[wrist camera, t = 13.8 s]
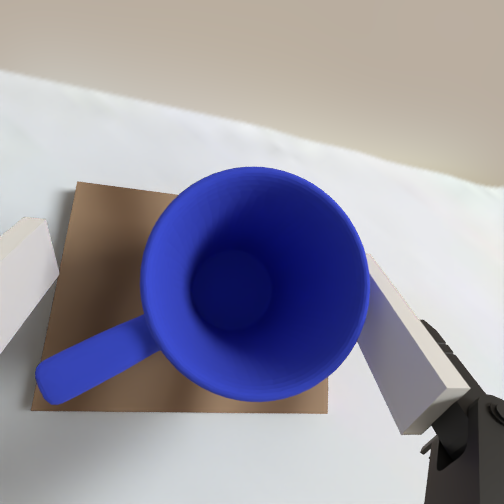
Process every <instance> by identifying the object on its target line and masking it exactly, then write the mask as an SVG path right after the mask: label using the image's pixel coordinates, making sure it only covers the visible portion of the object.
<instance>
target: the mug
mask: <svg viewBox="0 0 504 504" xmlns="http://www.w3.org/2000/svg"><path fill="white" fill-rule="evenodd" d="M140 294H141V302H142V307H143V311H144V314H143V315H141V316H139V317H136V318H134V319H131V320H129V321H127V322H124V323H122V324H119V325H117V326H115V327H113V328H110V329H108V330H106V331H103V332H101V333H99V334H97V335H95V336H93V337H90V338H88V339H86V340H84V341H82V342H80V343H78V344H76V345H74V346H72V347H69V348H67V349H65V350H63V351H61V352H59V353H57V354H55V355H53V356H51V357H49V358H47V359H45V360H43V361H42V362H41V363H40V364H39V365H38V366H37V368H36V371H35V378H36V382H37V385H38V388H39V390H40V392H41V394H42V396H43V398H44V399H45V400H46V401H47V402H48V403H50V404H51V405H59V404H62V403H64V402H66V401H68V400H70V399H72V398H74V397H76V396H78V395H80V394H82V393H84V392H86V391H88V390H89V389H91V388H93V387H95V386H97V385H99V384H101V383H103V382H104V381H106V380H108V379H110V378H112V377H114V376H116V375H118V374H119V373H121V372H123V371H125V370H126V369H128V368H130V367H132V366H133V365H135V364H137V363H138V362H140V361H142V360H144V359H145V358H147V357H149V356H150V355H152V354H154V353H156V352H158V351H160V350H161V351H162V353H163V354H164V355H165V357H166V358H167V359H168V360H169V361H170V362H171V364H172V365H173V366H174V367H175V368H176V369H177V370H178V371H179V372H180V373H181V374H183V375H184V376H185V377H186V378H188V379H189V380H190V381H192V382H193V383H195V384H197V385H198V386H200V387H201V388H203V389H205V390H207V391H209V392H212V393H214V394H217V395H220V396H222V397H225V398H229V399H234V400H239V401H246V402H267V401H275V400H280V399H285V398H288V397H292V396H295V395H298V394H300V393H302V392H304V391H307V390H309V389H311V388H312V387H314V386H316V385H317V384H319V383H320V382H322V381H323V380H324V379H326V378H327V377H328V376H329V375H331V374H332V373H333V372H334V371H335V370H336V369H337V368H338V367H339V366H340V365H341V364H342V362H343V361H344V360H345V359H346V357H347V356H348V355H349V353H350V352H351V350H352V349H353V347H354V345H355V344H356V342H357V340H358V338H359V336H360V334H361V331H362V328H363V326H364V323H365V319H366V315H367V311H368V306H369V298H370V275H369V268H368V262H367V258H366V254H365V251H364V248H363V245H362V242H361V240H360V237H359V235H358V233H357V231H356V229H355V227H354V226H353V224H352V222H351V221H350V219H349V218H348V216H347V215H346V214H345V212H344V211H343V210H342V209H341V207H340V206H339V205H338V204H337V203H336V202H335V201H334V200H333V199H332V198H331V197H330V196H329V195H327V194H326V193H325V192H324V191H323V190H321V189H320V188H318V187H317V186H315V185H314V184H312V183H310V182H309V181H307V180H305V179H303V178H301V177H299V176H296V175H294V174H291V173H288V172H285V171H281V170H277V169H273V168H266V167H240V168H233V169H228V170H224V171H221V172H218V173H214V174H212V175H210V176H207V177H205V178H203V179H201V180H199V181H197V182H196V183H194V184H192V185H191V186H190V187H188V188H187V189H185V190H184V191H183V192H181V193H180V194H179V195H178V196H177V197H176V198H175V199H174V200H173V201H172V202H171V203H170V204H169V205H168V206H167V208H166V209H165V210H164V212H163V213H162V214H161V216H160V217H159V219H158V220H157V222H156V223H155V225H154V227H153V229H152V231H151V233H150V235H149V238H148V240H147V243H146V247H145V250H144V253H143V258H142V263H141V271H140Z"/></svg>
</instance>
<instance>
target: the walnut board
mask: <svg viewBox="0 0 504 504" xmlns="http://www.w3.org/2000/svg"><path fill="white" fill-rule="evenodd" d="M177 196H178V195H175V194H167V193H160V192H152V191H145V190H137V189H130V188H122V187H115V186H107V185H100V184H92V183H85V182H78V181H77V186H76V191H75V196H74V201H73V206H72V211H71V216H70V220H69V225H68V230H67V235H66V240H65V245H64V250H63V255H62V260H61V265H60V270H59V273H60V274H59V276H58V279H57V284H56V289H55V294H54V299H53V304H52V309H51V314H50V319H49V324H48V329H47V333H46V338H45V343H44V348H43V353H42V358H41V362H42V361H43V360H45V359H47V358H49V357H51V356H53V355H55V354H57V353H59V352H61V351H63V350H65V349H67V348H69V347H72V346H74V345H76V344H78V343H80V342H82V341H84V340H86V339H88V338H90V337H93V336H95V335H97V334H99V333H101V332H103V331H106V330H108V329H110V328H113V327H115V326H117V325H119V324H122V323H124V322H127V321H129V320H131V319H134V318H136V317H139V316H141V315H143V314H144V311H143V307H142V302H141V294H140V271H141V263H142V258H143V253H144V250H145V247H146V243H147V240H148V238H149V235H150V233H151V231H152V229H153V227H154V225H155V223H156V222H157V220H158V219H159V217H160V216H161V214H162V213H163V212H164V210H165V209H166V208H167V206H168V205H169V204H170V203H171V202H172V201H173V200H174V199H175V198H176V197H177ZM31 411H104V412H206V413H308V414H328V377H327V378H326V379H324V380H323V381H322V382H320V383H319V384H317V385H316V386H314V387H312V388H311V389H309V390H307V391H304V392H302V393H300V394H298V395H295V396H292V397H288V398H285V399H280V400H275V401H267V402H246V401H239V400H234V399H229V398H225V397H222V396H220V395H217V394H214V393H212V392H209V391H207V390H205V389H203V388H201V387H200V386H198V385H197V384H195V383H193V382H192V381H190V380H189V379H188V378H186V377H185V376H184V375H183V374H181V373H180V372H179V371H178V370H177V369H176V368H175V367H174V366H173V365H172V364H171V362H170V361H169V360H168V359H167V358H166V357H165V355H164V354H163V353H162V351H161V350H160V351H158V352H156V353H154V354H152V355H150V356H149V357H147V358H145V359H144V360H142V361H140V362H138V363H137V364H135V365H133V366H132V367H130V368H128V369H126V370H125V371H123V372H121V373H119V374H118V375H116V376H114V377H112V378H110V379H108V380H106V381H104V382H103V383H101V384H99V385H97V386H95V387H93V388H91V389H89V390H88V391H86V392H84V393H82V394H80V395H78V396H76V397H74V398H72V399H70V400H68V401H66V402H64V403H62V404H59V405H51V404H50V403H48V402H47V401H46V400H45V399H44V398H43V396H42V394H41V392H40V390H39V388H38V385H37V383H36V388H35V392H34V397H33V402H32V407H31Z"/></svg>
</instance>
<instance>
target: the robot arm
mask: <svg viewBox="0 0 504 504" xmlns="http://www.w3.org/2000/svg"><path fill="white" fill-rule="evenodd" d="M365 254H366V253H365ZM366 258H367V262H368V268H369V275H370V298H369V306H368V311H367V315H366V319H365V323H364V326H363V328H362V331H361V334H360V336H359V338H358V340H357V342H358V344H359V346H360V349H361V351H362V353H363V355H364V357H365V359H366V361H367V363H368V366H369V368H370V370H371V372H372V374H373V376H374V378H375V380H376V383H377V385H378V387H379V389H380V391H381V393H382V395H383V397H384V400H385V402H386V404H387V406H388V408H389V410H390V412H391V414H392V416H393V419H394V421H395V423H396V425H397V427H398V429H399V431H400V433H401V435H422V434H423V433H424V432H425V431H426V430H427V429H428V428H429V427H430V426H431V425H432V427H433V429H434V431H435V432H436V434H437V435H436V436H435V437H434V438H432V439H431V440H430V441H429V442H428V443H427V444H426V445H425V446H423V447H422V449H421V452H420V453H422V454H423V455H424V454H425V453H426V452H427V451H429V450H430V449H431V454H430V457H429V459H430V462H429V470H428V478H427V486H426V494H425V502H424V504H504V400H502V399H500V398H498V397H495V396H493V395H487V394H486V393H485V392H484V391H483V390H482V389H481V387H480V386H479V385H478V383H477V382H476V381H475V380H474V378H473V377H472V376H471V374H470V373H469V372H468V371H467V369H466V368H465V367H464V365H463V364H462V363H461V362H460V360H459V359H458V358H457V356H456V355H454V354H453V351H452V350H451V349H450V347H449V346H448V345H446V344H445V343H446V342H445V341H444V340H443V338H442V337H441V336H440V335H439V333H438V332H437V331H436V330H435V329H434V328H433V327H432V326H430V325H429V324H428V323H427V322H426V321H424V320H419V319H418V317H417V316H416V315H415V313H414V312H413V311H412V309H411V308H410V307H409V305H408V304H407V302H406V301H405V300H404V298H403V297H402V296H401V294H400V293H399V292H398V290H397V289H396V288H395V286H394V285H393V284H392V282H391V281H390V280H389V278H388V277H387V276H386V274H385V273H384V272H383V270H382V269H381V268H380V266H379V265H378V264H377V262H376V261H375V260H374V258H373V257H372V256H371V254H366ZM59 274H60V273H59V269H58V265H57V261H56V257H55V253H54V249H53V245H52V241H51V237H50V233H49V229H48V225H47V221H46V219H39V218H29V217H24V218H22V219H21V220H20V221H19V222H17V223H16V224H15V225H14V226H13V227H11V228H10V229H9V230H8V231H6V232H5V233H4V234H3V235H1V236H0V354H1V352H2V351H3V350H4V348H5V347H6V346H7V344H8V343H9V342H10V340H11V339H12V338H13V336H14V335H15V334H16V332H17V331H18V329H19V328H20V327H21V325H22V324H23V323H24V321H25V320H26V319H27V317H28V316H29V315H30V313H31V312H32V311H33V309H34V308H35V307H36V305H37V304H38V303H39V301H40V300H41V299H42V297H43V296H44V295H45V293H46V292H47V291H48V289H49V288H50V287H51V285H52V284H53V283H54V281H55V280H56V279H57V277H58V276H59Z"/></svg>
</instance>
